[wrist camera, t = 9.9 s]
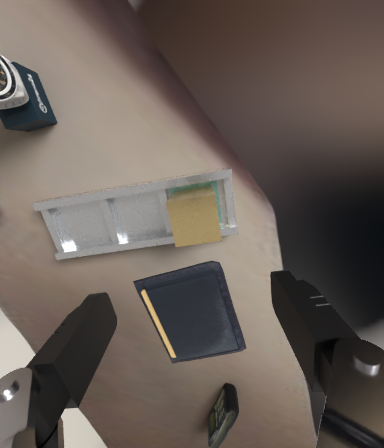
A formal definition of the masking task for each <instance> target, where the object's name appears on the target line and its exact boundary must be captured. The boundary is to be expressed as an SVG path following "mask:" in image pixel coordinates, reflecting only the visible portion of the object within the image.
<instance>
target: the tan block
mask: <svg viewBox="0 0 384 448" xmlns="http://www.w3.org/2000/svg"><path fill="white" fill-rule="evenodd" d="M166 206H167V210H168V215H169V219H170V224H171V228H172V233H173V237H174V241H175V246H176V247H182V246H189V245H196V244H203V243H210V242H216V241H222V238H221V231H220V224H219V217H218V210H217V203H216V196H215V192H214V190H213V187H212V185H206V186H200V187H194V188H188V189H183V190H177V191H174V192H173V194H172V195H171V196H170V198H169V199H168V201H167V202H166Z"/></svg>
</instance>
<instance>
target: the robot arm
mask: <svg viewBox="0 0 384 448" xmlns="http://www.w3.org/2000/svg"><path fill="white" fill-rule="evenodd" d="M270 277H271V295H272V304H273V308H274V311H275V314H276V316H277V318H278V320H279V322H280V324H281V326H282V328H283V330H284V333H285V335H286V337H287V339H288V341H289V343H290V345H291V347H292V349H293V352H294V354H295V356H296V358H297V360H298V362H299V364H300V366H301V369H302V371H303V373H304V375H305V377H306V379H307V381H308V383H309V385H310V388H311V390H312V392H324V393H325V395H326V401H325V407H324V412H323V413H322V416H321V421H320V427H319V432H318V438H317V444H316V448H384V350H383V349H382V348H380V347H379V346H377V345H375V344H373V343H371V342H369V341H366V340H363V339H360V338H359V337H358V336H357V334H356V333H355V332H354V331H353V330H352V328H351V327H350V326H349V325H348V324H347V323H346V322H345V320H344V319H343V318H342V317H341V316H340V315H339V313H338V312H337V311H336V310H335V309H334V308H333V307H332V305H330V304H329V302H328V301H327V300H326V299H325V297H323V295H322V294H321V293H320V292H319V290H318V289H317V288H316V287H315V286H314V285H312V284H310V283H309V282H307V281H305V280H296V278H295V277H294V276H293V275H292V273H291V272H290V271H289V270H282V271H274V272H271V275H270ZM116 326H117V317H116V314H115V311H114V309H113V306H112V303H111V301H110V298H109V296H108V294H107V293H106V292H104V293H96V294H90V295H88V296H87V297H86V299H85V300H84V301H83V303H82V304H81V305H80V306H79V307H77V308H76V309H75V310H74V311H72V312H71V313H70V314H69V315H68V316H67V317H66V318H65V320H64V321H63V322H62V323H61V326H59V327H58V328H57V329H56V331H55V332H54V334H52V336H51V337H50V338H49V339H48V340H47V342H46V343H45V344H44V345H43V347H42V348H41V349H40V350H39V351H38V353H37V354H36V355H35V356H34V358H33V359H32V360H31V361H30V363H29V364H28V365H27V366H26V367H25V368H20V369H17V370H14V371H12V372H10V373H8V374H7V375H5V376H4V377H2V378H1V379H0V448H64V436H63V421H62V419H61V415H62V413H63V411H64V409H66V408H78V407H79V405H80V403H81V401H82V399H83V396H84V394H85V392H86V390H87V388H88V386H89V384H90V382H91V380H92V378H93V376H94V373H95V371H96V369H97V367H98V365H99V363H100V361H101V359H102V357H103V355H104V353H105V351H106V348H107V346H108V344H109V342H110V340H111V338H112V336H113V334H114V332H115V329H116Z"/></svg>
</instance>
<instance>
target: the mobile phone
mask: <svg viewBox="0 0 384 448" xmlns="http://www.w3.org/2000/svg"><path fill="white" fill-rule="evenodd" d="M238 413H239V406H238V398H237V392H236V388H235V387H234V386H233V385H231V384H225V386H224V388H223V390H222V392H221V394H220V396H219V399H218V401H217V402H216V404H215V406H214V407H213V409H212V410H211V412H210V415H209V421H208V445H209V447H210V448H218V447H219V446H220V445H221V443H222V442H223V441H224V440H225V438H226V437H227V435H228V433H229V431H230V429H231V428H232V426H233V425H234V423H235V421H236V419H237V416H238Z"/></svg>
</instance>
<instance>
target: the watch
mask: <svg viewBox="0 0 384 448" xmlns="http://www.w3.org/2000/svg"><path fill="white" fill-rule="evenodd" d="M0 118H1V120H2V122H3V124H4V126H5V128H6V129H11V130H18V131H26V132H29V131H32V130H36V129H39V128H42V127H46V126H49V125H53V124H56V123H57V121H56V118H55V116H54V113H53V111H52V108H51V106H50V104H49V101H48V99H47V96H46V94H45V91H44V89H43V86H42V84H41V82H40V79H39V77H38V74H37V73H36V72H34V71H32V70H30V69H28V68H26V67H24V66H22V65H20V64H18V63H16V62H12V63H10V61H9V60H8V59H6V58H5V57H3V56H2V55H0Z"/></svg>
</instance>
